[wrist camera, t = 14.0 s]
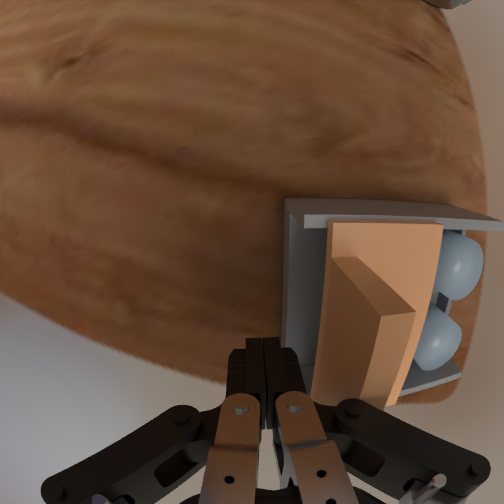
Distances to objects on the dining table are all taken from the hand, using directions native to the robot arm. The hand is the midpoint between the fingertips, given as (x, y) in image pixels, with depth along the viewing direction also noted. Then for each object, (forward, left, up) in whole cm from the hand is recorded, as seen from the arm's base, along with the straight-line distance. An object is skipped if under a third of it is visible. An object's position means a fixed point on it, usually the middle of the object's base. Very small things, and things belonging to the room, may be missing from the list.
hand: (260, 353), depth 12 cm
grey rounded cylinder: (-11, +6, -7) cm, 15 cm away
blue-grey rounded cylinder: (-13, +1, -7) cm, 15 cm away
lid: (-6, +2, -1) cm, 6 cm away
